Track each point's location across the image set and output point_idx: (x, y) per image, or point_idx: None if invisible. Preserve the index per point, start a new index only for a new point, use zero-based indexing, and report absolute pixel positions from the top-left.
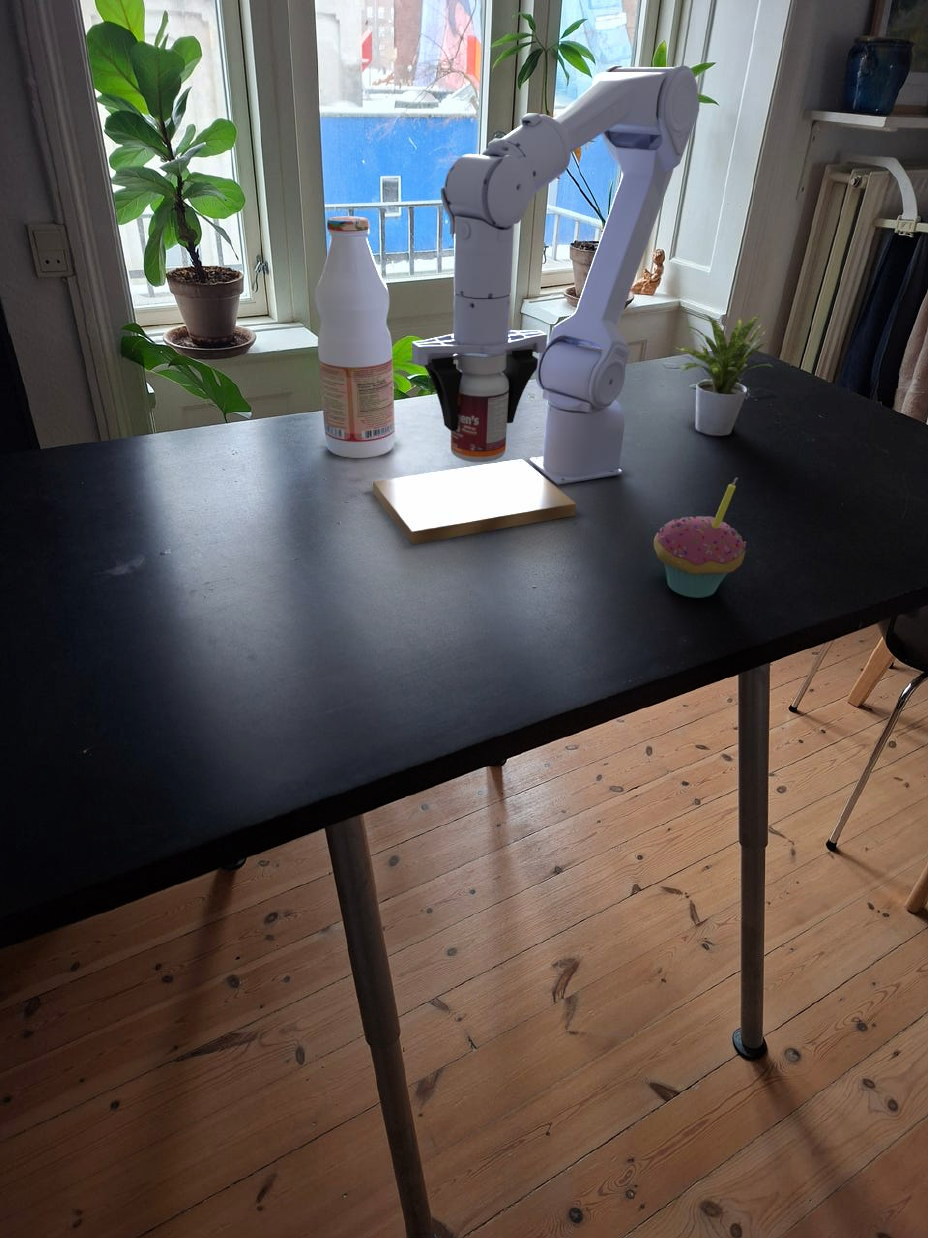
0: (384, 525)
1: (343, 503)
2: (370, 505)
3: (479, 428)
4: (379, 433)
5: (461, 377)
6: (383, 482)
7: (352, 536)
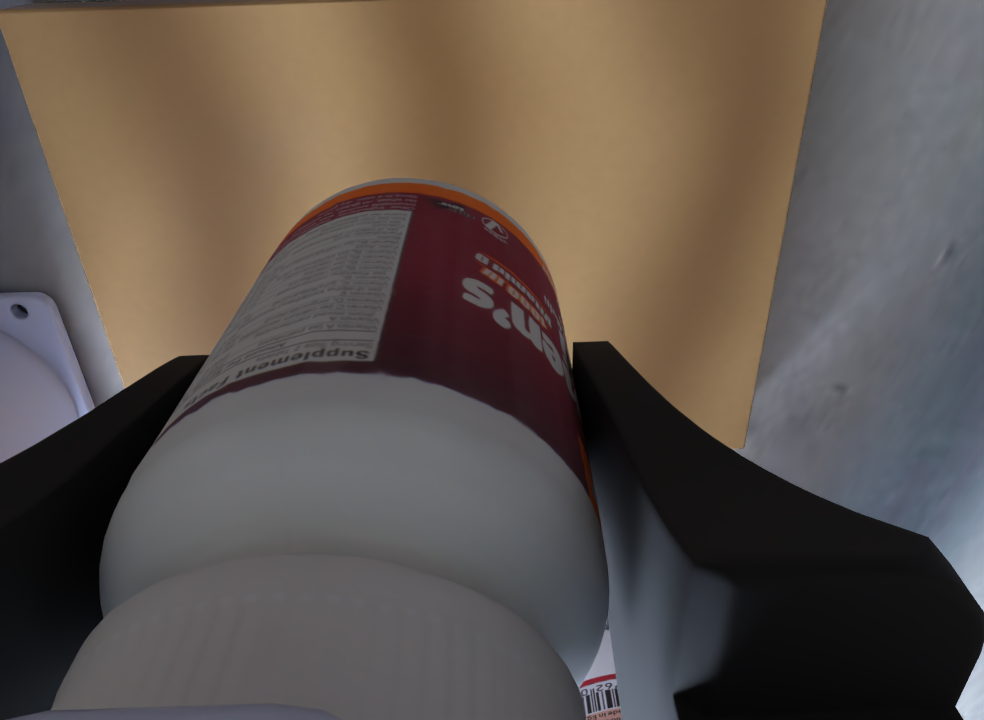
0: (814, 186)
1: (853, 385)
2: (780, 346)
3: (457, 259)
4: (606, 692)
5: (677, 540)
6: (714, 430)
7: (966, 138)
